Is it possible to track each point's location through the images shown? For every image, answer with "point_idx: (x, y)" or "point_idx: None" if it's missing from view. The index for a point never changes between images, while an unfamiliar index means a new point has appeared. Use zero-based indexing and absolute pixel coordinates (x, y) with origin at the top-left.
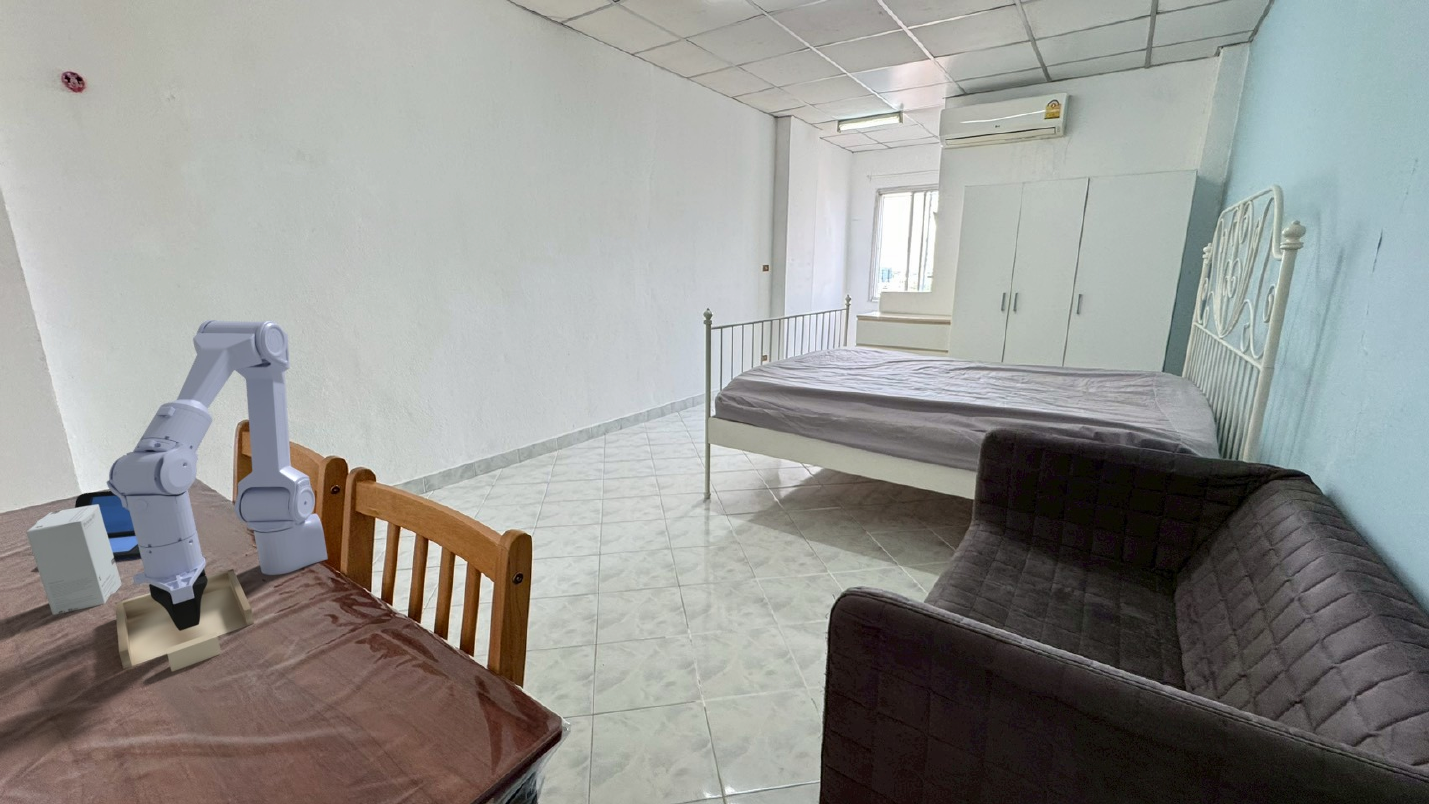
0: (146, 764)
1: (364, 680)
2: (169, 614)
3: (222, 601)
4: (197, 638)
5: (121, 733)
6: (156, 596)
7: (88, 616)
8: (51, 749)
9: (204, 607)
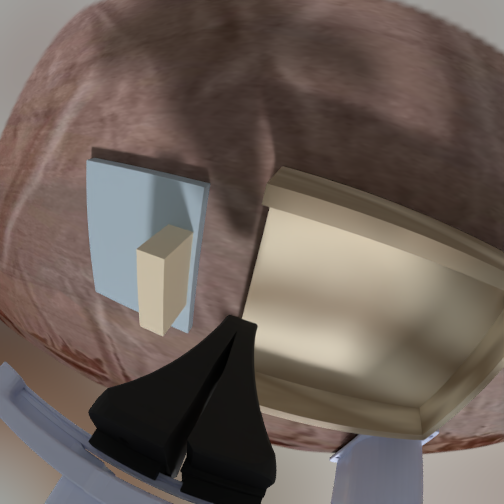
0: (24, 137)
1: (41, 314)
2: (188, 352)
3: (380, 388)
4: (158, 309)
5: (81, 117)
6: (93, 404)
7: None
8: (122, 31)
9: (395, 368)
